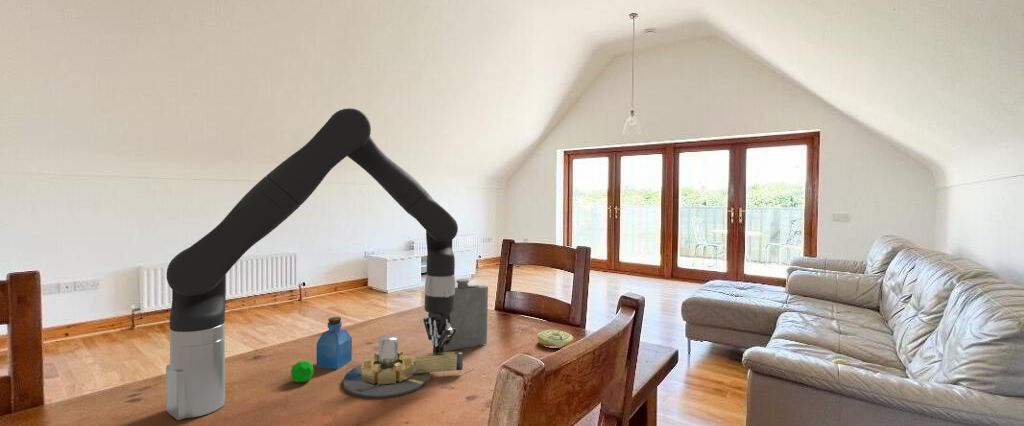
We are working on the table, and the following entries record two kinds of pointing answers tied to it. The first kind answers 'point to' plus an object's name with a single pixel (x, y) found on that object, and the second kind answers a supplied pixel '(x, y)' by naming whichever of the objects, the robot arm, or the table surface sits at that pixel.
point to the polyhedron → (302, 371)
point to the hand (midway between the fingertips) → (438, 359)
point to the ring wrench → (409, 366)
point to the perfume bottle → (334, 346)
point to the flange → (386, 359)
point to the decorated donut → (555, 338)
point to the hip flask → (469, 316)
